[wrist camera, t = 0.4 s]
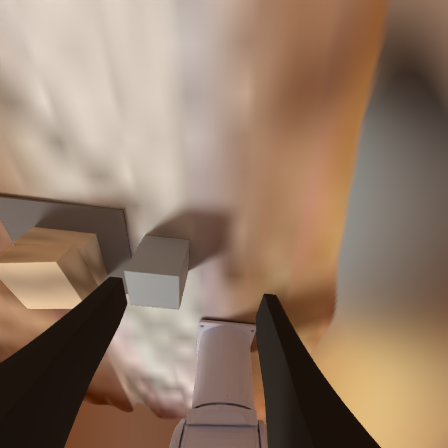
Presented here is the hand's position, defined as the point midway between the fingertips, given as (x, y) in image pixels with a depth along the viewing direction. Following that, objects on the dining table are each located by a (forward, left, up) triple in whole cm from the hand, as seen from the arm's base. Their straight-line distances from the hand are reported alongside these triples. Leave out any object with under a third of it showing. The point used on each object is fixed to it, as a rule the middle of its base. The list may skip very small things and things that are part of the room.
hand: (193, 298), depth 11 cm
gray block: (-6, +4, -10) cm, 12 cm away
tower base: (-7, +14, -10) cm, 19 cm away
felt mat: (-7, +14, -10) cm, 19 cm away
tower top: (-7, +14, -7) cm, 17 cm away
